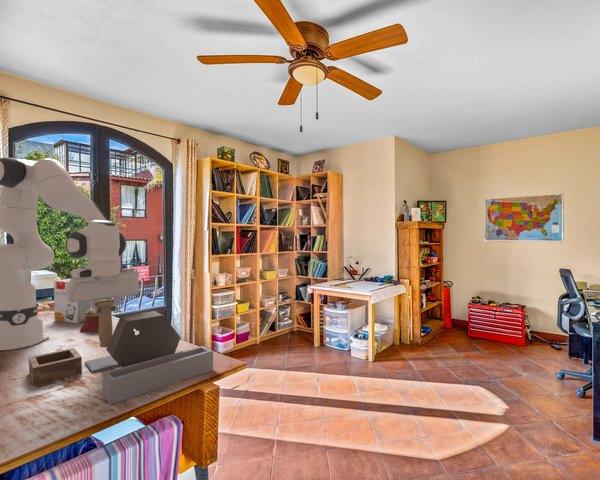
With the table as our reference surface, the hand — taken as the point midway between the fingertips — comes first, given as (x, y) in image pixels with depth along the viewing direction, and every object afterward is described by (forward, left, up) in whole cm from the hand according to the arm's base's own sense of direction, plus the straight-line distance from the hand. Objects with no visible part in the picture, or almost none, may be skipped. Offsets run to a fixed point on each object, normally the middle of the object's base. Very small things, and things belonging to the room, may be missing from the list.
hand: (105, 312), depth 105 cm
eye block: (-3, -13, -17) cm, 22 cm away
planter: (+15, +7, -17) cm, 24 cm away
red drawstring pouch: (-47, +7, -17) cm, 51 cm away
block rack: (+26, +8, -17) cm, 32 cm away
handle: (0, 0, -12) cm, 12 cm away
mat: (0, 0, -17) cm, 17 cm away
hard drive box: (-73, +3, -17) cm, 75 cm away
